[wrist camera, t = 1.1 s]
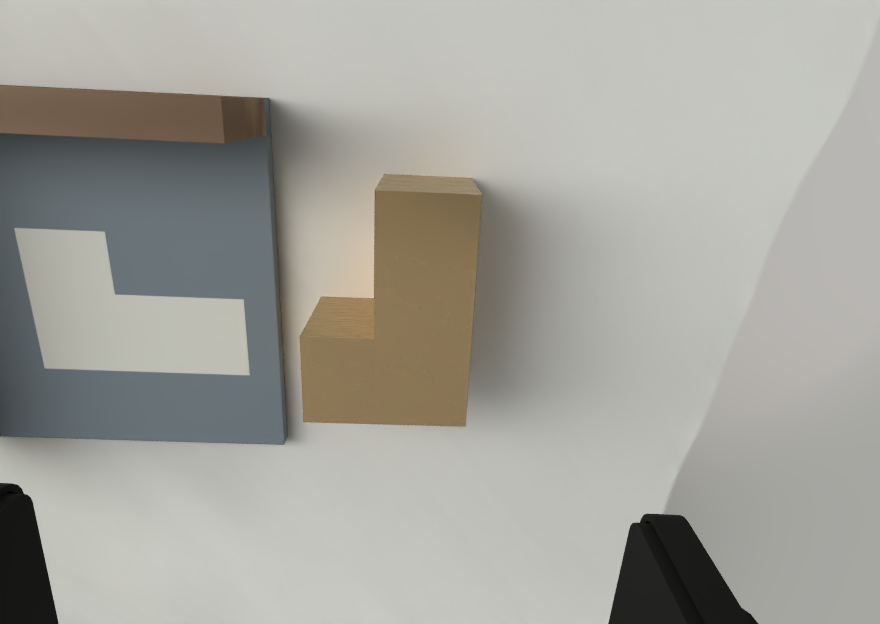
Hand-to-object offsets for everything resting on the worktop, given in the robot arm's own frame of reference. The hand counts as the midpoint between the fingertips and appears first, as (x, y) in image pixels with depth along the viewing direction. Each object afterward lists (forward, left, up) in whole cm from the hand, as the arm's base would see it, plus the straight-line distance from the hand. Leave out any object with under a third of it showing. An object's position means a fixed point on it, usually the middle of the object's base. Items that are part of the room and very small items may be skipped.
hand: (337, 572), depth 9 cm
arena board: (+2, -14, -19) cm, 24 cm away
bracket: (+1, 0, -19) cm, 19 cm away
